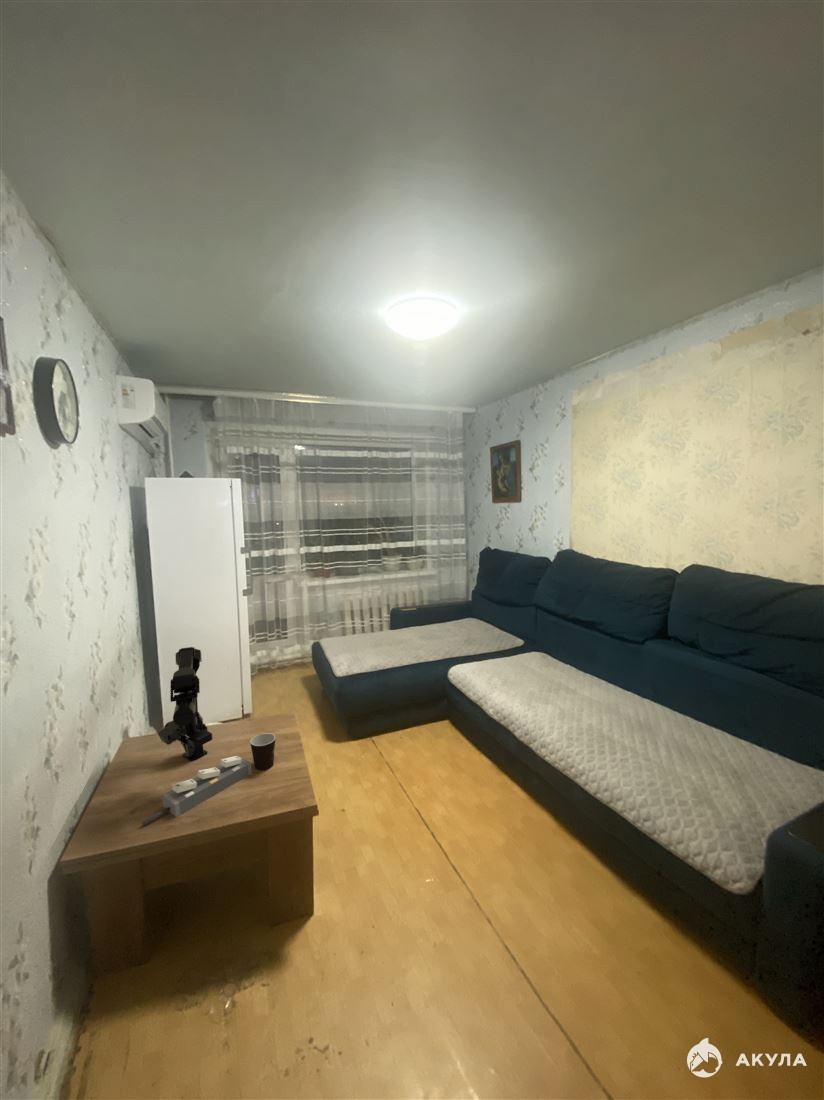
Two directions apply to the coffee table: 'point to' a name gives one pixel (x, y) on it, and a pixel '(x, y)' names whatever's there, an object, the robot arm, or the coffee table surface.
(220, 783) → the power strip
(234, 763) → the block
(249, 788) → the coffee table surface
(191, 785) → the white rectangular block
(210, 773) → the block
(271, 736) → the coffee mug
